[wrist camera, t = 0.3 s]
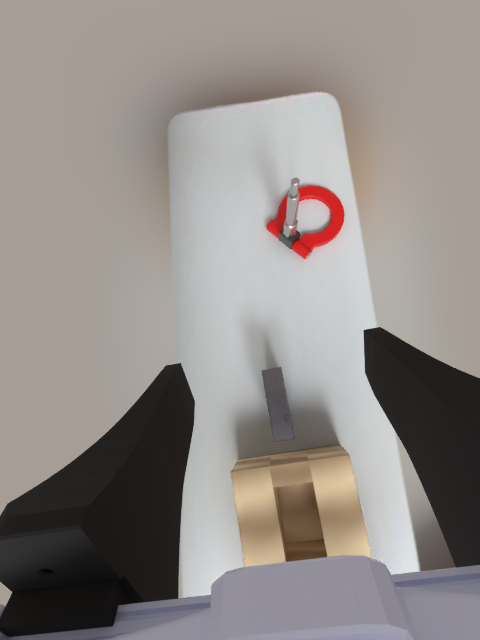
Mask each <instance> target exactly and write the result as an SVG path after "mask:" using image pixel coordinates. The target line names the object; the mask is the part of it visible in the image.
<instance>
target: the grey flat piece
mask: <svg viewBox="0 0 480 640" xmlns="http://www.w3.org/2000/svg"><path fill="white" fill-rule="evenodd" d="M262 376H263V381H264V387H265V393H266V398H267V404H268V410H269V415H270V421H271V427H272V432H273V438H274V442H276V441H283V440H289V439H294V433H293V428H292V422H291V417H290V411H289V406H288V401H287V395H286V390H285V385H284V380H283V375H282V370H281V367H280V368H274V369H268V370H262Z"/></svg>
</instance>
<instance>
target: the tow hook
mask: <svg viewBox="0 0 480 640" xmlns="http://www.w3.org/2000/svg"><path fill="white" fill-rule="evenodd" d="M304 199H317V200H319V201H322V202H323V203H325V204H326V205H327V206H328V208H329V210H330V212H331V216H332V218H331V223H330V225H329V226H328V227H327V228H326V229H325V230H324V231H322V232H320V233H317V234H305V235H304V236H303V237H302V238H301V239H300V240H299V237H300V233H299V232H298V231H297V230H296V228H297V219H296V218H297V211H298V204H299V201H302V200H304ZM343 222H344V210H343V206H342V204H341V202H340V200H339V199H338V198H337V197H336V195H335V194H334V193H332V192H330V191H329V190H327V189H325V188H322V187H318V186H306V187H301V188H299V179H298V178H293V179H292V180H291V188H290V191H289V192H288V195H287V196H286V197H285V198H284V200H283V201H282V203H281V205H280V207H279V212H278V217H277V218H276V219H275V220H274V221H273V220H272V221H270V222H269V224H268V225H267V228H266V229H267V230H268V231H270V232H271V233H272V234H274V235H275V236H276V237H277V238H279V240H280V241H281V242H282V243H284V244H285V245H286V246H288V247H289V248H290V249H293V250H294V251H295V252H296V253H298V254H299V255H300V256H302V257H303V258H304V259H306V258H308V257H309V255H310V254H311V252H312V249H313V248H314V247H318V246H321V245H324V244H327V243H328V242H330V241H331V240H332V239H334V238H335V237H336V235H337V234H338V233H339V231H340V229H341V227H342V225H343Z"/></svg>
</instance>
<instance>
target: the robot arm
mask: <svg viewBox="0 0 480 640" xmlns="http://www.w3.org/2000/svg"><path fill="white" fill-rule="evenodd" d="M364 352H365V373H366V376H367V378H368V381H369V383H370V386H371V388H372V390H373V393H374V395H375V397H376V398H377V400H378V402H379V404H380V405H381V407H382V409H383V411H384V412H385V414H386V416H387V418H388V419H389V421H390V423H391V424H392V426H393V428H394V429H395V431H396V433H397V435H398V436H399V438H400V440H401V441H402V443H403V445H404V447H405V449H406V450H407V453H408V454H409V457H410V459H411V461H412V463H413V465H414V468H415V469H416V472H417V474H418V476H419V479H420V481H421V483H422V485H423V488H424V490H425V492H426V495H427V497H428V499H429V501H430V504H431V506H432V509H433V511H434V513H435V516H436V518H437V521H438V523H439V526H440V528H441V531H442V533H443V536H444V538H445V540H446V543H447V546H448V548H449V551H450V553H451V556H452V558H453V561H454V563H455V566H456V568H448V569H440V570H430V571H421V572H412V573H403V574H394V575H391V574H390V572H389V570H388V569H387V567H386V565H385V564H383V563H381V562H380V561H377V560H374V559H372V558H369V557H367V556H358V555H341V556H333V557H324V558H316V559H307V560H299V561H290V562H282V563H273V564H265V565H257V566H248V567H243V568H239V569H235V570H232V571H228V572H226V573H225V574H223V575H222V576H221V577H220V578H218V579H217V580H216V581H215V582H214V583H213V584H212V588H211V595H206V596H197V597H188V598H179V599H178V575H179V543H180V524H181V508H182V494H183V484H184V477H185V471H186V466H187V460H188V454H189V449H190V443H191V438H192V432H193V426H194V408H195V401H194V398H193V395H192V393H191V390H190V387H189V384H188V382H187V379H186V376H185V374H184V371H183V368H182V366H181V363H179V364H173V365H167V366H165V367H164V369H163V370H162V371H161V372H160V373H159V375H158V376H157V377H156V378H155V380H154V381H153V382H152V383H151V385H150V386H149V387H148V389H147V390H146V391H145V392H144V393H143V394H142V396H141V397H140V398H139V399H138V400H137V402H136V403H135V404H134V405H133V406H132V407H131V408H130V409H129V410H128V412H127V413H126V414H125V415H124V416H123V417H122V418H121V419H120V420H119V421H118V422H117V423H116V424H115V425H114V426H113V427H112V428H111V429H110V430H109V431H108V432H107V433H106V434H105V435H104V436H103V437H102V438H100V439H99V440H98V441H97V442H96V443H95V444H93V445H92V446H91V447H90V448H88V449H87V450H86V451H85V452H84V453H82V454H81V455H80V456H79V457H77V458H76V459H75V460H74V461H72V462H71V463H70V464H68V465H67V466H65V467H64V468H63V469H61V470H60V471H58V472H57V473H56V474H54V475H53V476H51V477H50V478H48V479H47V480H45V481H44V482H42V483H41V484H39V485H38V486H36V487H34V488H33V489H31V490H29V491H28V492H26V493H25V494H23V495H21V496H20V497H18V498H17V499H15V500H13V501H11V502H10V503H8V504H7V506H6V507H5V509H4V511H3V512H2V514H1V516H0V582H1V583H3V584H4V585H5V586H6V587H7V588H8V589H10V590H11V591H12V592H13V593H12V595H11V597H10V599H9V601H8V603H7V605H6V606H4V605H0V640H480V378H477V377H475V376H472V375H470V374H467V373H465V372H462V371H460V370H457V369H456V368H453V367H451V366H449V365H447V364H445V363H443V362H441V361H439V360H437V359H435V358H433V357H431V356H429V355H427V354H425V353H424V352H422V351H420V350H418V349H416V348H415V347H413V346H411V345H410V344H408V343H406V342H404V341H402V340H401V339H399V338H398V337H396V336H394V335H393V334H391V333H389V332H388V331H386V330H384V329H383V328H381V327H378V328H373V329H367V330H364Z"/></svg>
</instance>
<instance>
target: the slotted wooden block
mask: <svg viewBox="0 0 480 640" xmlns="http://www.w3.org/2000/svg"><path fill="white" fill-rule="evenodd" d="M231 477H232V484H233V491H234V497H235V504H236V511H237V517H238V524H239V531H240V538H241V544H242V551H243V558H244V565H245V567H248V566H257V565H265V564H273V563H282V562H290V561H299V560H307V559H316V558H324V557H333V556H341V555H358V556H367V557H369V558H372V556H371V552H370V547H369V543H368V538H367V533H366V529H365V524H364V520H363V515H362V511H361V506H360V501H359V497H358V492H357V488H356V483H355V478H354V474H353V469H352V465H351V460H350V456H349V454H348V453H347V452H346V451H345V449H344V448H343V447H342V446H341V445H335V446H328V447H321V448H314V449H308V450H301V451H294V452H287V453H280V454H274V455H267V456H260V457H253V458H246V459H240V460H238V461H237V462H236V464H235V466H234V467H233V469H232V471H231Z"/></svg>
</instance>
